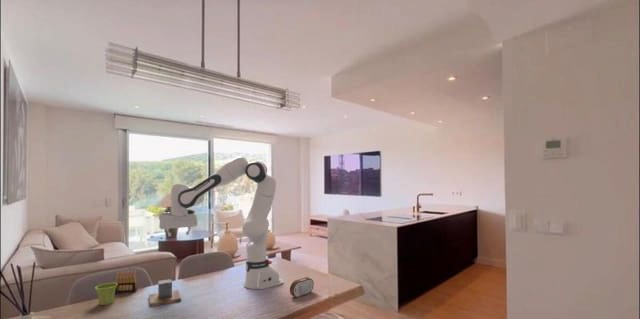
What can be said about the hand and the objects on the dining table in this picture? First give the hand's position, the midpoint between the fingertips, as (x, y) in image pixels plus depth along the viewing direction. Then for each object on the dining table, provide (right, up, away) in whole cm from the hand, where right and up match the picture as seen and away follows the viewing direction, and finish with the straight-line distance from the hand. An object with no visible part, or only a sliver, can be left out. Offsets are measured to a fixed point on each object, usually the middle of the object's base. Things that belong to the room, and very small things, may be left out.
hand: (178, 235), depth 189 cm
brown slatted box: (-25, -29, -9) cm, 40 cm away
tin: (+72, -28, -16) cm, 79 cm away
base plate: (+2, -28, -21) cm, 35 cm away
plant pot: (-26, -28, -25) cm, 46 cm away
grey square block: (+2, -27, -20) cm, 34 cm away
